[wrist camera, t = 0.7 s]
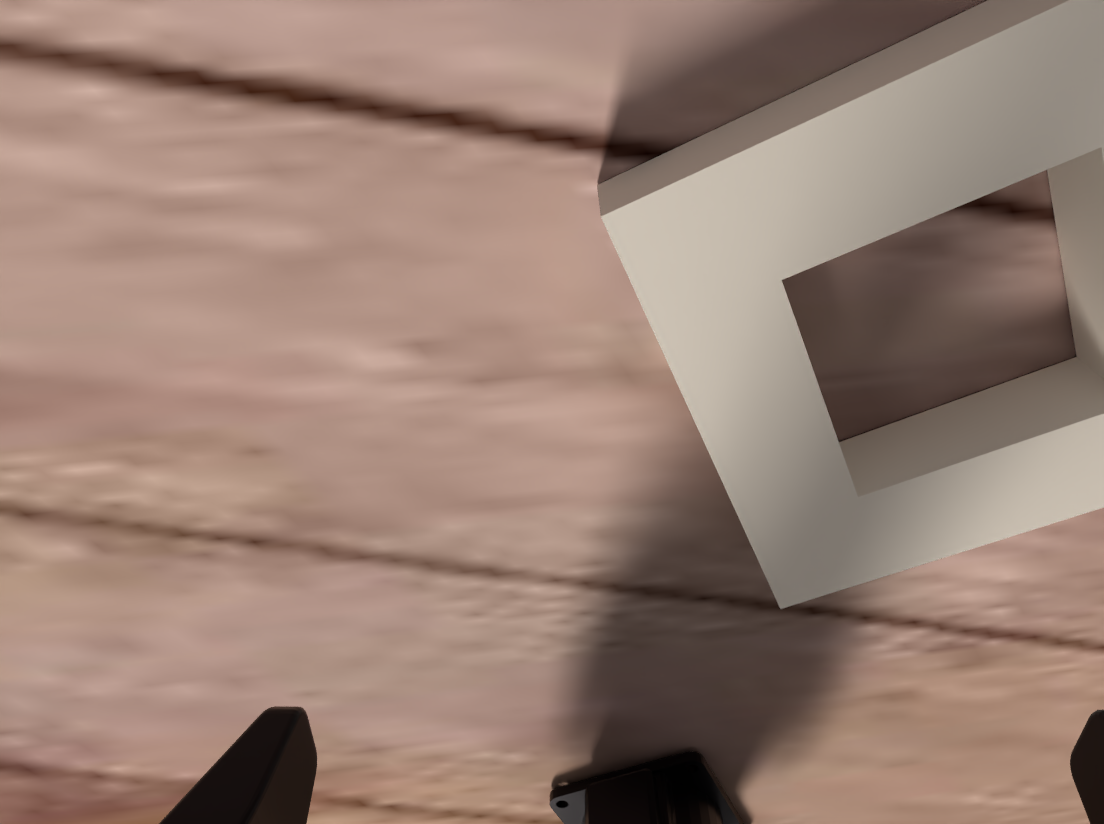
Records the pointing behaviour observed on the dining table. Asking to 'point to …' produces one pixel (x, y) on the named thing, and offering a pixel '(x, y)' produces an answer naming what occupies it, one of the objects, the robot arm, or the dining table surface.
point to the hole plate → (850, 223)
